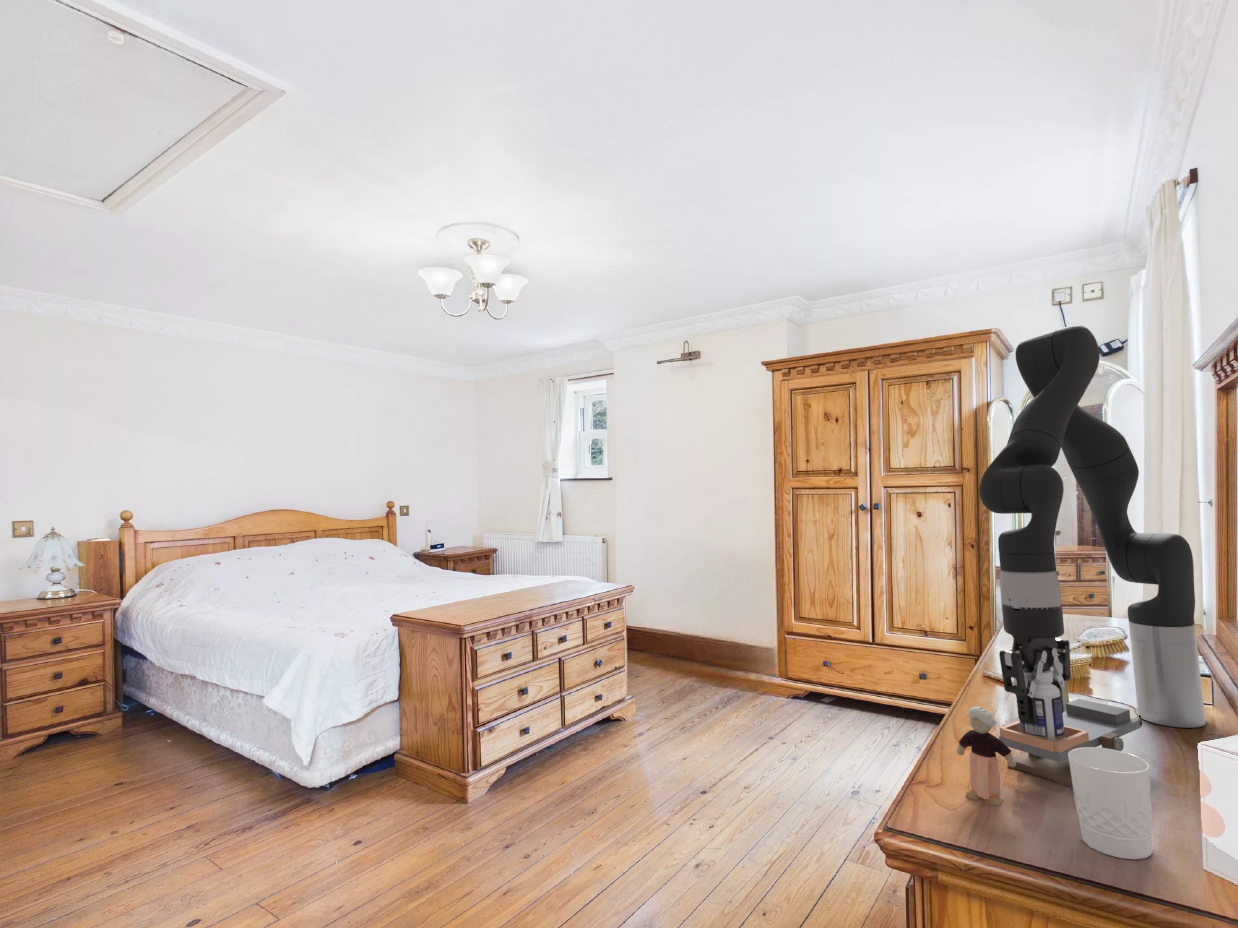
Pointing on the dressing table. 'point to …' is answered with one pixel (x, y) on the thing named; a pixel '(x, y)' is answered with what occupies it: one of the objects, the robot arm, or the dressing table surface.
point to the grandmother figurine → (984, 757)
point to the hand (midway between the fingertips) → (1041, 716)
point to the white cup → (1113, 801)
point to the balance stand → (1057, 769)
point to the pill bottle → (1046, 711)
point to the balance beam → (1073, 730)
